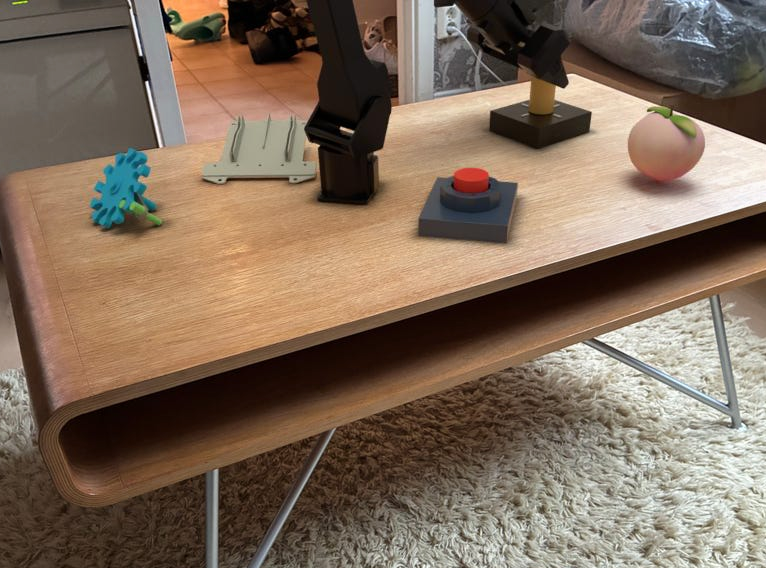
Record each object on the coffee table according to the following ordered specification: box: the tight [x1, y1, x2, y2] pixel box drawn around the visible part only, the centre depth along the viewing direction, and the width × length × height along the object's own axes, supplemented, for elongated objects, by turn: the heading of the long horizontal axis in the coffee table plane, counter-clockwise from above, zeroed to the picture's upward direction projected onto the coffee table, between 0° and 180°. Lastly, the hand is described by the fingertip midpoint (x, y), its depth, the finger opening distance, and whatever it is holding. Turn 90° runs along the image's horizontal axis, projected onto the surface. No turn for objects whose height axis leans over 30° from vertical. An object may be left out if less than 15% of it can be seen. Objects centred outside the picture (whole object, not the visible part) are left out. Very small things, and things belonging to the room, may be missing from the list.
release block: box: [417, 174, 519, 244], centre depth 89 cm, size 12×10×4 cm
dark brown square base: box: [488, 99, 593, 150], centre depth 113 cm, size 11×10×3 cm
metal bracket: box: [201, 111, 318, 185], centre depth 104 cm, size 14×6×15 cm
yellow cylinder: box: [528, 75, 557, 115], centre depth 109 cm, size 4×4×8 cm
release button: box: [453, 167, 490, 194], centre depth 88 cm, size 4×4×2 cm
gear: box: [89, 147, 163, 229], centre depth 91 cm, size 11×6×10 cm
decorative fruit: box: [627, 103, 706, 184], centre depth 94 cm, size 9×8×10 cm
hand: (548, 77), depth 109 cm, fingers open, 9 cm apart
